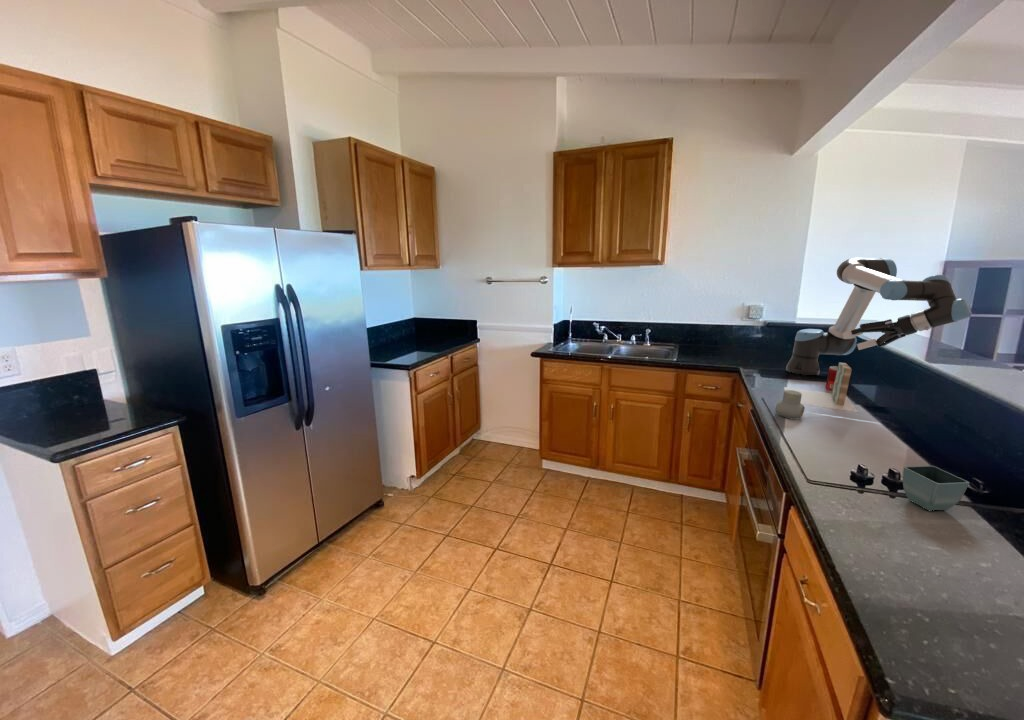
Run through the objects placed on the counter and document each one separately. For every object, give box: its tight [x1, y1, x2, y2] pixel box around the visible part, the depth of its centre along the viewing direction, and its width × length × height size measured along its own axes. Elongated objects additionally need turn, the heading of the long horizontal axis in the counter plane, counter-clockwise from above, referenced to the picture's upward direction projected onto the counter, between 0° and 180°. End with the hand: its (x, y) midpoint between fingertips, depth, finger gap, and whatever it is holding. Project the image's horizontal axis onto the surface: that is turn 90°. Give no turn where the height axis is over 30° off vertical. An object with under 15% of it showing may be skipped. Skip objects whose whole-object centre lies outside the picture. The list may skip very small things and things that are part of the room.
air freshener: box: [774, 390, 805, 420], centre depth 167 cm, size 11×8×10 cm
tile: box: [831, 362, 852, 406], centre depth 183 cm, size 12×2×16 cm, turn 152°
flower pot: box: [902, 465, 970, 512], centre depth 108 cm, size 9×9×9 cm
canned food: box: [825, 365, 838, 392], centre depth 200 cm, size 8×8×11 cm
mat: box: [783, 386, 859, 413], centre depth 188 cm, size 24×24×1 cm
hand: (850, 341), depth 183 cm, fingers open, 13 cm apart
